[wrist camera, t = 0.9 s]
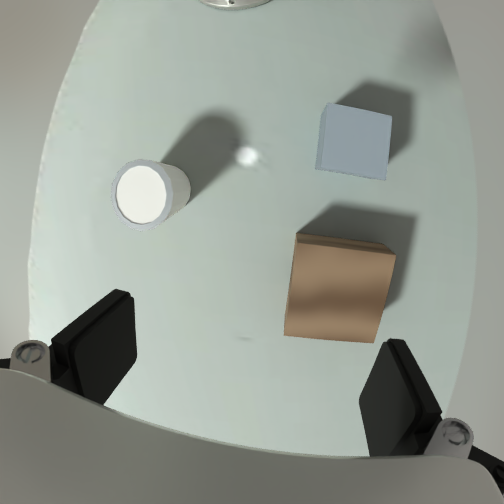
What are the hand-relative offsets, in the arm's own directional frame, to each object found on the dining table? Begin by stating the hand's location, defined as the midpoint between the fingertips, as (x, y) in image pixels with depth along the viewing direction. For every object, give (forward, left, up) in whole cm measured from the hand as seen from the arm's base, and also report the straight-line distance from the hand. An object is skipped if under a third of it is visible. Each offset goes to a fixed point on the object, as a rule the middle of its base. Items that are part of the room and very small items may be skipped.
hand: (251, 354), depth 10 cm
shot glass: (-3, -13, -24) cm, 27 cm away
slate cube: (-10, +6, -23) cm, 26 cm away
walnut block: (+5, +7, -24) cm, 25 cm away
